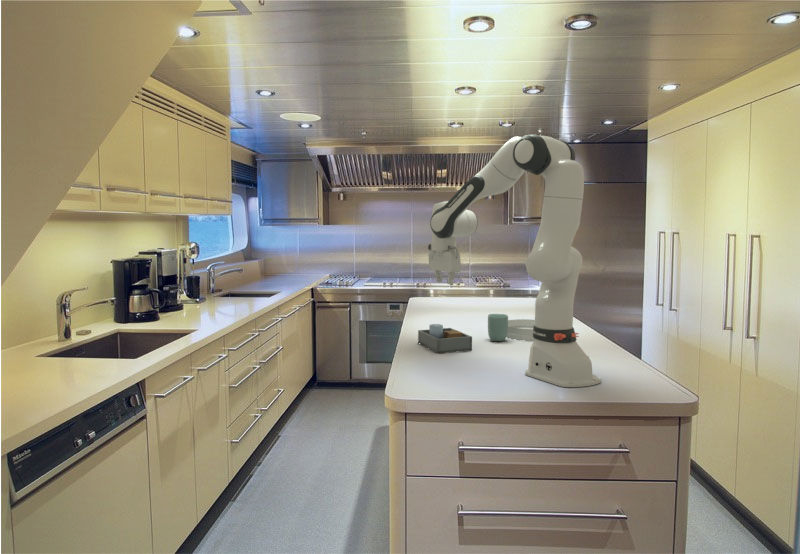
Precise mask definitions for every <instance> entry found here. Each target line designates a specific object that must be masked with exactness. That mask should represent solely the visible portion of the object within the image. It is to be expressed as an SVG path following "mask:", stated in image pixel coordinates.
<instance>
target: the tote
mask: <svg viewBox="0 0 800 554" xmlns="http://www.w3.org/2000/svg"><path fill="white" fill-rule="evenodd" d="M451 330H455V329H454V328H451V327H443V339H438V338H436V337H434V336H431V335H429V329H420V330H417V333H418V334H417V337H418V338H417V340H418V343H417V344H419V343H420V344H419V345H421V346H423V347H424V346H425V348H426V347H427V349H428V348H429V350H430V351H432V352H434V353H436V354H437V353H438V354H445V353H446V352H449V353H457V352H456V351H459V352H467V351H466V350H470V351H472V350H473V336H472V335H469V334H467V333H464V332H462V337H456V338H444V331H451ZM446 354H447V353H446Z"/></svg>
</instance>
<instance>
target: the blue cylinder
mask: <svg viewBox="0 0 800 554" xmlns="http://www.w3.org/2000/svg"><path fill="white" fill-rule="evenodd" d="M428 328H429V329H428V330H429V335H431V336H434V337H436V338H438V339H443V328H444V325H443V324H440V323H432V324H429V327H428Z"/></svg>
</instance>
